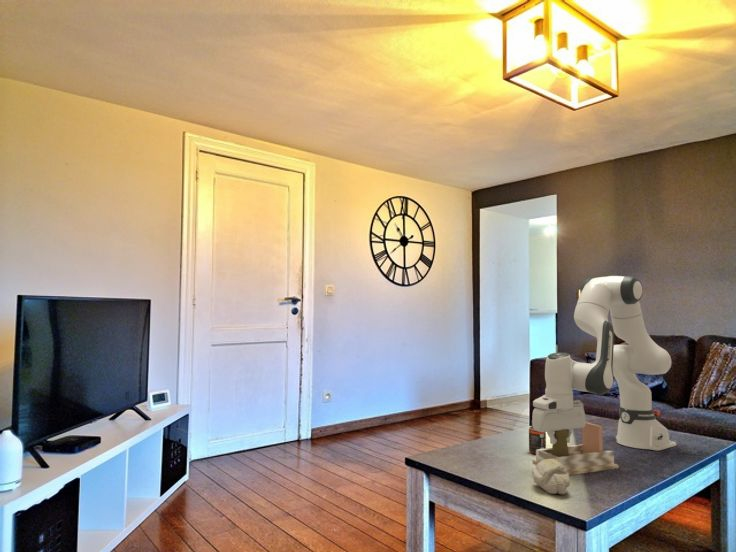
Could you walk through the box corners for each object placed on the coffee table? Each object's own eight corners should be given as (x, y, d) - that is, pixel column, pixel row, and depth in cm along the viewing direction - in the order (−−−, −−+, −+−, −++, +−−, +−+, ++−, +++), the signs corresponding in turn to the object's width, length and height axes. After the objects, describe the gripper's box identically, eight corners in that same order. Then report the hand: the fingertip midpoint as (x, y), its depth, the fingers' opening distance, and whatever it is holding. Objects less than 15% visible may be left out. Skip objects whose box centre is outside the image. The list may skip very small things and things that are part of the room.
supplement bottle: (547, 456, 173) (546, 424, 174) (530, 454, 174) (529, 423, 175) (544, 451, 179) (544, 420, 180) (528, 450, 180) (527, 419, 181)
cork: (547, 458, 163) (547, 425, 164) (564, 458, 163) (564, 425, 164) (555, 464, 157) (555, 429, 158) (573, 463, 157) (572, 429, 158)
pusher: (586, 456, 169) (585, 421, 170) (603, 462, 162) (602, 426, 163) (582, 456, 168) (582, 422, 169) (599, 462, 162) (598, 426, 163)
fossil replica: (555, 501, 132) (579, 497, 137) (559, 470, 132) (582, 468, 137) (522, 483, 143) (544, 481, 147) (525, 455, 143) (547, 453, 148)
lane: (585, 456, 173) (585, 442, 174) (618, 468, 160) (618, 452, 161) (532, 463, 164) (532, 448, 165) (562, 476, 151) (562, 460, 152)
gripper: (575, 397, 168) (576, 437, 167) (528, 401, 161) (529, 443, 160) (589, 401, 163) (590, 442, 162) (542, 405, 155) (542, 448, 154)
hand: (560, 443), depth 161 cm, fingers closed on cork, 4 cm apart
